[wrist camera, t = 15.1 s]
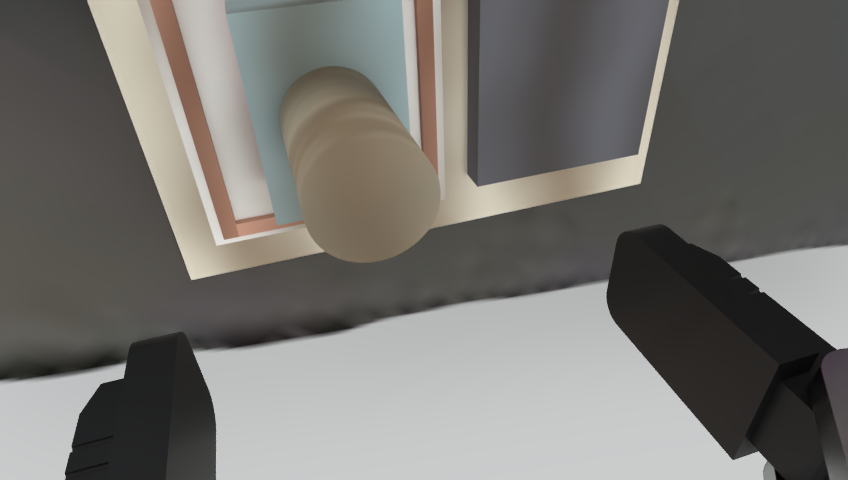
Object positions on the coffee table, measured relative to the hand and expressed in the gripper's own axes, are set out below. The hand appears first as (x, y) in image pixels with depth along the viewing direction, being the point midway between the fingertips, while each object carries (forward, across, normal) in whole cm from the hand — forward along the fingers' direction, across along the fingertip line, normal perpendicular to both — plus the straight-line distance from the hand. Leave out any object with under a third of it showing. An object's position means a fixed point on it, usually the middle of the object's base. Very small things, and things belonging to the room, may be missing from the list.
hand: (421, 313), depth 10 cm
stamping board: (+14, -4, 0) cm, 15 cm away
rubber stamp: (+13, 0, 0) cm, 13 cm away
